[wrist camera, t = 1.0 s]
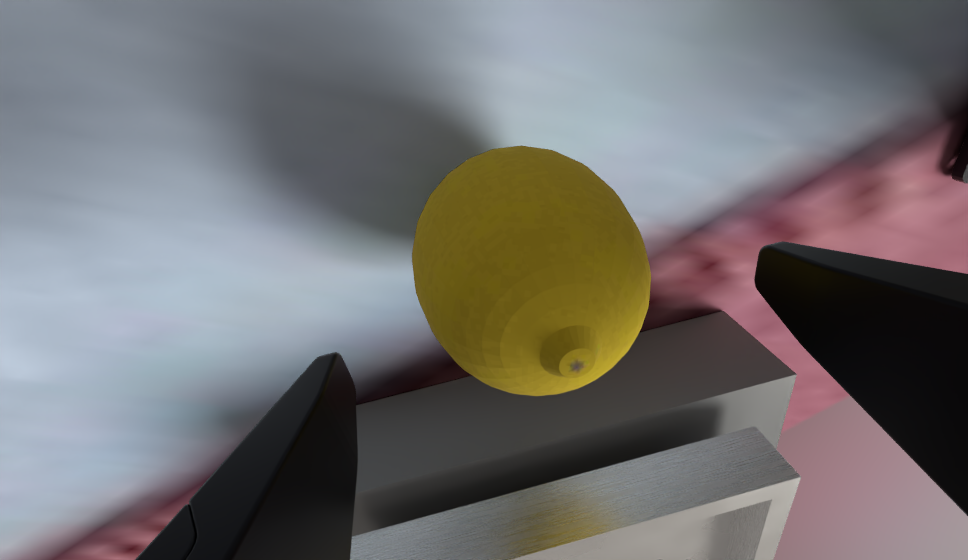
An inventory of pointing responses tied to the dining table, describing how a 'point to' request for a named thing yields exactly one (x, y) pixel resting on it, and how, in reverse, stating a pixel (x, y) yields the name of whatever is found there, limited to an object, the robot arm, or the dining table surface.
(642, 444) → the scale
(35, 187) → the dining table surface
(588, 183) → the lemon
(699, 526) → the pan
